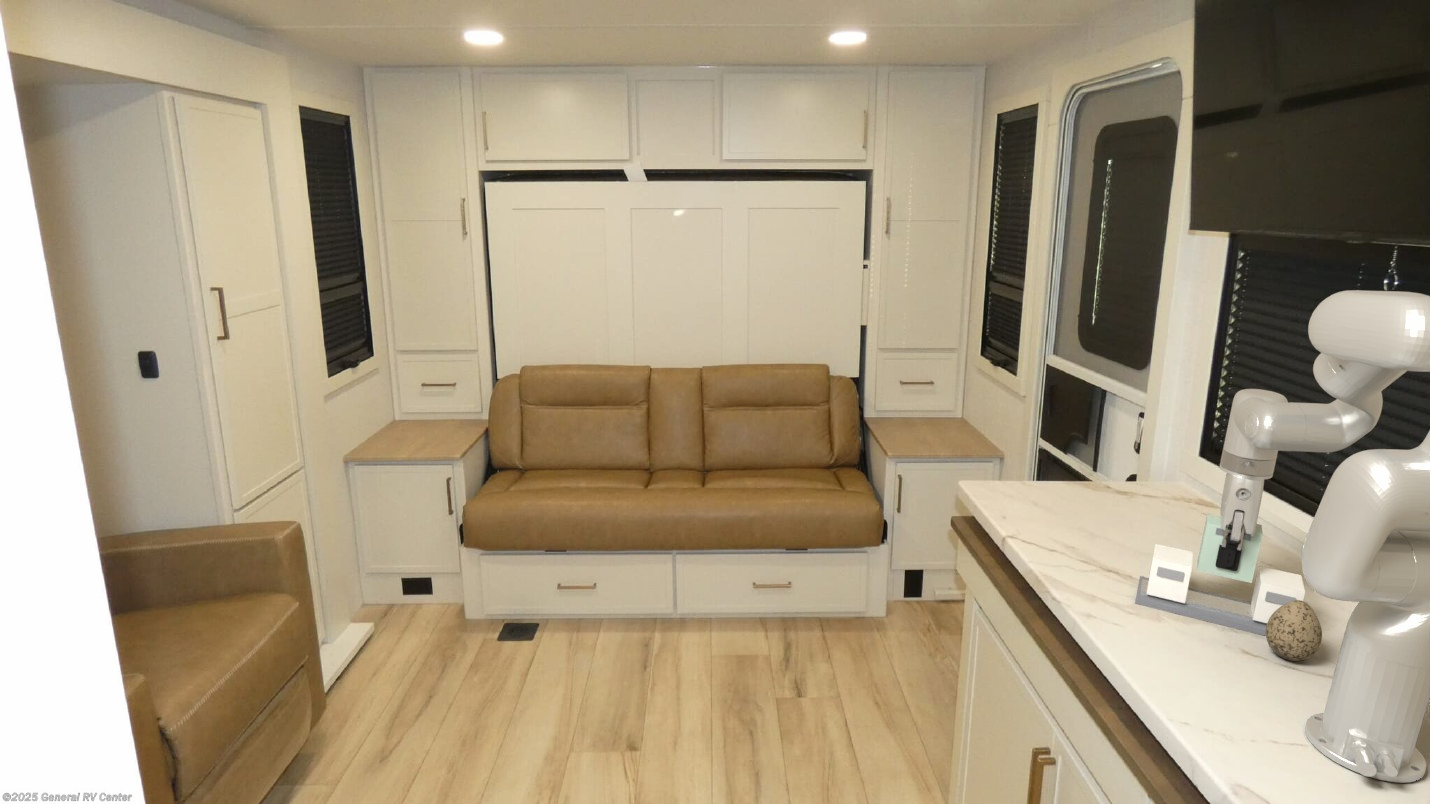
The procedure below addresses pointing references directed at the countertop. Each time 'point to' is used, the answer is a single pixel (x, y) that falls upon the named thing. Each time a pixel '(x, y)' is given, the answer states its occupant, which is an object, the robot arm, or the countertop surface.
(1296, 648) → the decorative egg
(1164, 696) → the countertop surface
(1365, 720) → the robot arm
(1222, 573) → the block
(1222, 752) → the countertop surface
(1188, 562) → the board
